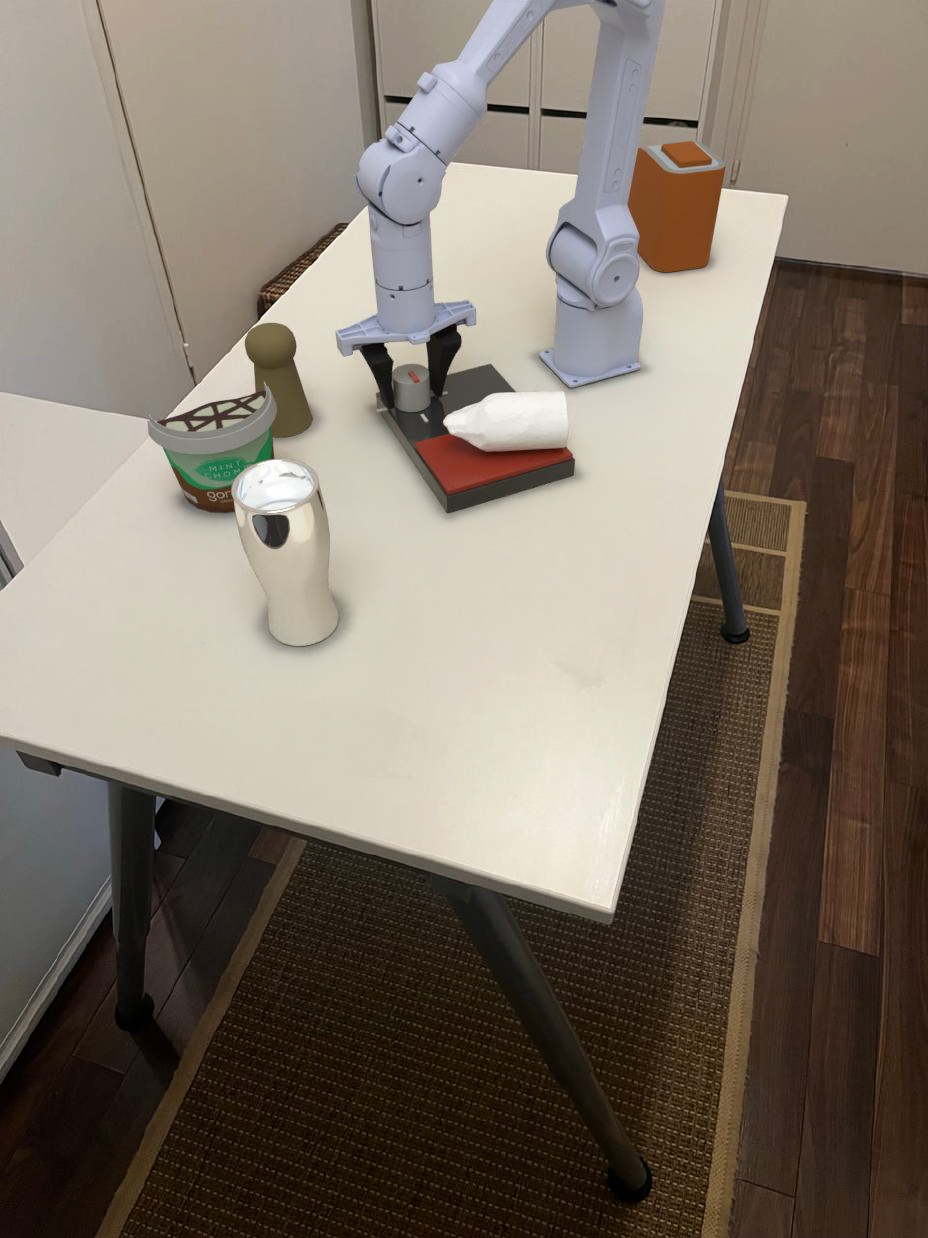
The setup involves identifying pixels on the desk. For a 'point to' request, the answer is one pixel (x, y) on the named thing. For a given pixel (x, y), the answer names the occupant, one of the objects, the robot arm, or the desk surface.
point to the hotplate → (480, 462)
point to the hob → (429, 424)
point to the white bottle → (513, 421)
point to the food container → (217, 446)
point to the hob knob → (411, 387)
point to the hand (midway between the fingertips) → (412, 397)
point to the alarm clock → (676, 204)
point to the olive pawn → (279, 376)
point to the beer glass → (288, 547)
